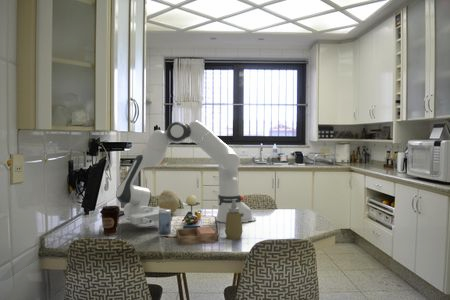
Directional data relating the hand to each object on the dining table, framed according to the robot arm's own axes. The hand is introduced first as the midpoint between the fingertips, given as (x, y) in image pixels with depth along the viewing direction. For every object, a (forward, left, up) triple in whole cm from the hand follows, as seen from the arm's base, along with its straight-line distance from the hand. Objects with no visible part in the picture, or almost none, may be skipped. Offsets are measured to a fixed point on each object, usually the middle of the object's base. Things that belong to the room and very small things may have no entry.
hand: (158, 219), depth 150 cm
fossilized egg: (-8, -38, -7) cm, 40 cm away
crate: (-16, +15, -7) cm, 23 cm away
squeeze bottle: (-33, +18, -7) cm, 38 cm away
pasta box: (-20, +15, -6) cm, 26 cm away
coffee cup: (+22, -4, -7) cm, 24 cm away
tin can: (-3, +5, -7) cm, 8 cm away
